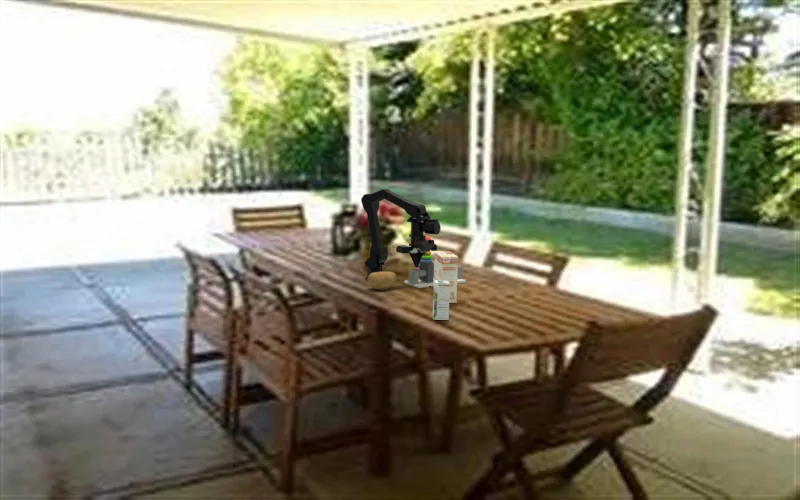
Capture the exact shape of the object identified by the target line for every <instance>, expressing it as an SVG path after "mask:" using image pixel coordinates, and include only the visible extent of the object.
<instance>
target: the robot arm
mask: <svg viewBox="0 0 800 500" xmlns="http://www.w3.org/2000/svg"><path fill="white" fill-rule="evenodd" d="M383 200H385V201H388V202H389V203H392V204H393V205H395V206H397V207H398V208H401V209H403V211H405V212H406V214H407V215H408V216H410V217H409V218H408V219H407V220H406V222H407V223H410V233H409V235H408V237H409V238H410V242H409V243H408V245H406V244H402V245H401V244H400V245H397V246H396V249H395V250H396V251H395V252H396V253H398V254H399V253H400V254H408V255H409V257H410V258H411V260H412V263H413V266H414V267H415V268H417V267H418V266H419V263H420V260H421V258H422V256H423V255H424V254H425V253H427V252H425V251H431V252H435V251H438V245H437V244H436V243H435V240H434V239H433V238H432V239H431V240H426V237H425V236H426V235H436V236H437V235H439V234H440V232H441V227H442V226H441V224H440V221H439V219H438V218H431V216H430V214H429V213H428V211H427V208H426V206H425V205H424V204H422V203H419V202H415V201H412V200H408V199H407V198H404V197H403V196H401V195H399V194H397V193H395V192H393V190H390V189H389V188H382V189H380V190H377V191H376V192H370V193H365V194H363V195H362V197H361V199H360V203H361V206H362V208H363V210H364V212H365V213H366V215H367V224H368V230H369V236H370V248H369V256H368V258H367V259H366V260H365V261H364V266H365V267H366V277H364V278H365V279H367V280H368V276H369V275H370V274H371V273H374V272H384V269H383V266H384V265H385V262H387V260H388V258H389V257H388V256H389V253H388V246H384V244H383V241H382V236H381V227H380V220H379V213H378V212H379V209H380V202H381V201H383ZM424 233H425V234H424Z"/></svg>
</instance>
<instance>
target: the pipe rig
mask: <svg viewBox="0 0 800 500" xmlns="http://www.w3.org/2000/svg"><path fill="white" fill-rule="evenodd" d="M462 275H463V274H462V266H459V265H458V276H457V284H463V283H465V284H466V283H467V280H466V279H463V278H462ZM424 276H426V270H417V269H416V270H415V269H409V270H408V276H407V277H408V280H404V281H403V283H404V284H406V285H408V286H409V285H410V286H412V287H415V288H418V289H419V288H420V289H421V288H422V289H423V288H430V287H429V286H431V287H434V277H433V282H426V281H422V280H419V277H424ZM433 276H434V274H433Z"/></svg>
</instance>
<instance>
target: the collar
mask: <svg viewBox="0 0 800 500" xmlns="http://www.w3.org/2000/svg"><path fill="white" fill-rule="evenodd" d="M419 270H426V276H424V277H419V280H422V281H426V282H433V278H434V275H433V274H434V262H433V261H432V262H429V261H420V266H419Z"/></svg>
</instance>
